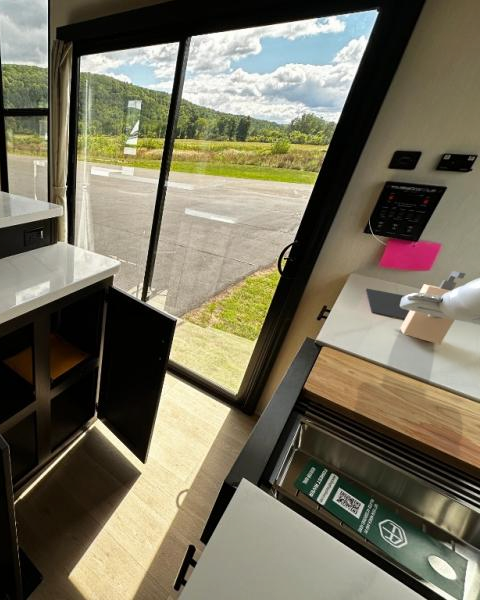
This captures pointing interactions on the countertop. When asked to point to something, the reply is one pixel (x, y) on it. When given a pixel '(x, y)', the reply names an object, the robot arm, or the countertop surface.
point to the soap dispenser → (430, 326)
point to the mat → (386, 304)
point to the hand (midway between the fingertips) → (434, 315)
